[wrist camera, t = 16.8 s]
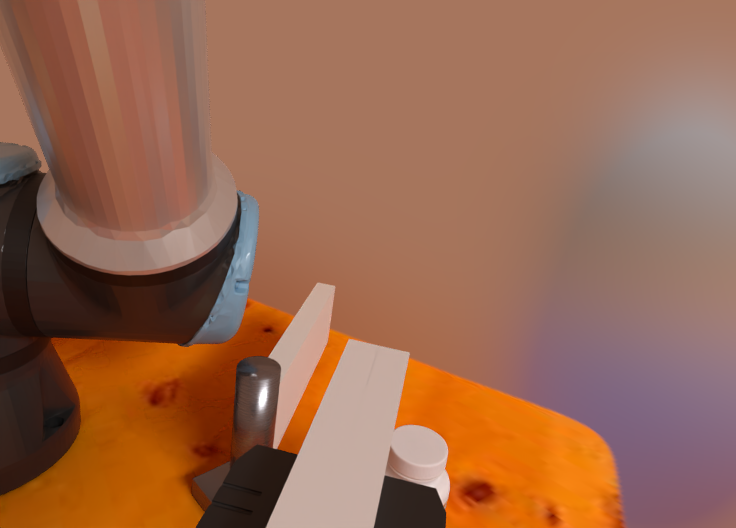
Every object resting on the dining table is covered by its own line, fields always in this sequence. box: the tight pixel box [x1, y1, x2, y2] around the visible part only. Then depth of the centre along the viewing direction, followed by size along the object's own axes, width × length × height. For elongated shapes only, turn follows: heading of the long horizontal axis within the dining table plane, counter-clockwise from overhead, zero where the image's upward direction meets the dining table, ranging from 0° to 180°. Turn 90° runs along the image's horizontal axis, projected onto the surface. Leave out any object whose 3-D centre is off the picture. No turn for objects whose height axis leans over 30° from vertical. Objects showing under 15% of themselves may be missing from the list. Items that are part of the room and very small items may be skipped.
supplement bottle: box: [385, 425, 450, 509], centre depth 36 cm, size 5×5×10 cm
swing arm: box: [268, 283, 335, 449], centre depth 49 cm, size 20×2×7 cm, turn 169°
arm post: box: [192, 356, 281, 511], centre depth 38 cm, size 6×6×12 cm
